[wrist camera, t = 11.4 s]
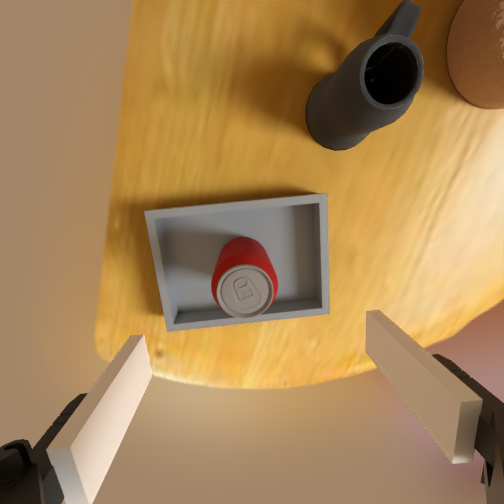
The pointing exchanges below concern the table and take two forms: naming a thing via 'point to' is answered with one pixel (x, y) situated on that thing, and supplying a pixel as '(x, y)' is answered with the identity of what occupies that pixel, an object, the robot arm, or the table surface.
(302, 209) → the bin
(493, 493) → the robot arm
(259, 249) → the beverage can
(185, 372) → the table surface
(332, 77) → the mug
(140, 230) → the table surface
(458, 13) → the vase
